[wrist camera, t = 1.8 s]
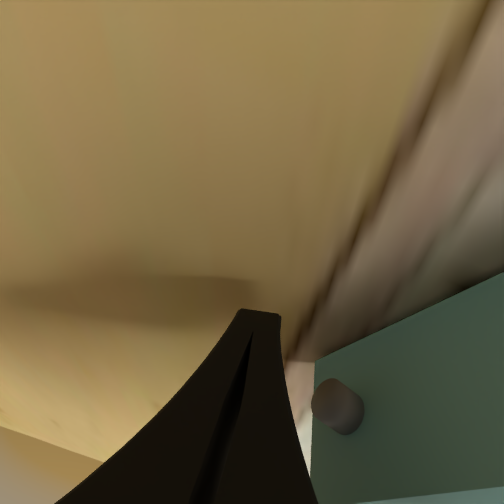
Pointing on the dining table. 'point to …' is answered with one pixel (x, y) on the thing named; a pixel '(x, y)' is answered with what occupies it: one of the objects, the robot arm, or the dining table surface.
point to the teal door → (416, 408)
